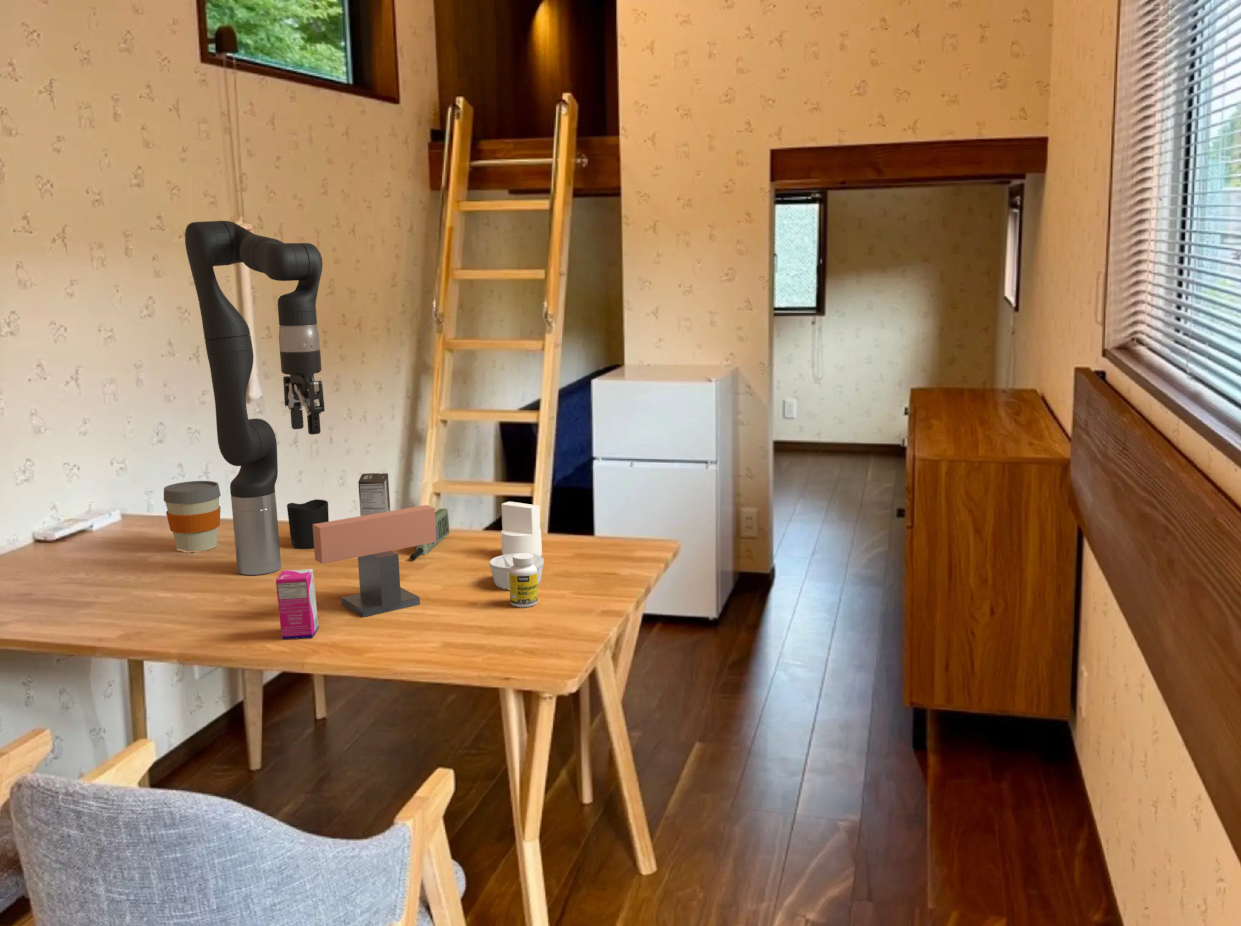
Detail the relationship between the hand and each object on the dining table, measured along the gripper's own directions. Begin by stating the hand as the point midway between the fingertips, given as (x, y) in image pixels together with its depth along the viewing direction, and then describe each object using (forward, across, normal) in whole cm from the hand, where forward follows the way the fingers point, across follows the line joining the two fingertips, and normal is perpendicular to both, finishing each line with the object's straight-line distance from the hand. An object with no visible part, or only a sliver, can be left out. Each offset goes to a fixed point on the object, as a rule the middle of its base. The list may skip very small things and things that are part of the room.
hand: (306, 431), depth 215 cm
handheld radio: (+35, +20, -36) cm, 54 cm away
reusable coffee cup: (+34, +56, +7) cm, 66 cm away
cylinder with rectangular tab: (+34, -1, -48) cm, 59 cm away
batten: (+23, -12, -8) cm, 27 cm away
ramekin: (+34, -18, -36) cm, 53 cm away
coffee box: (+34, +32, -28) cm, 55 cm away
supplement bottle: (+34, -30, -30) cm, 55 cm away
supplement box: (+34, -18, +11) cm, 40 cm away
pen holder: (+34, +41, -15) cm, 56 cm away
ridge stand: (+34, -12, -8) cm, 37 cm away
